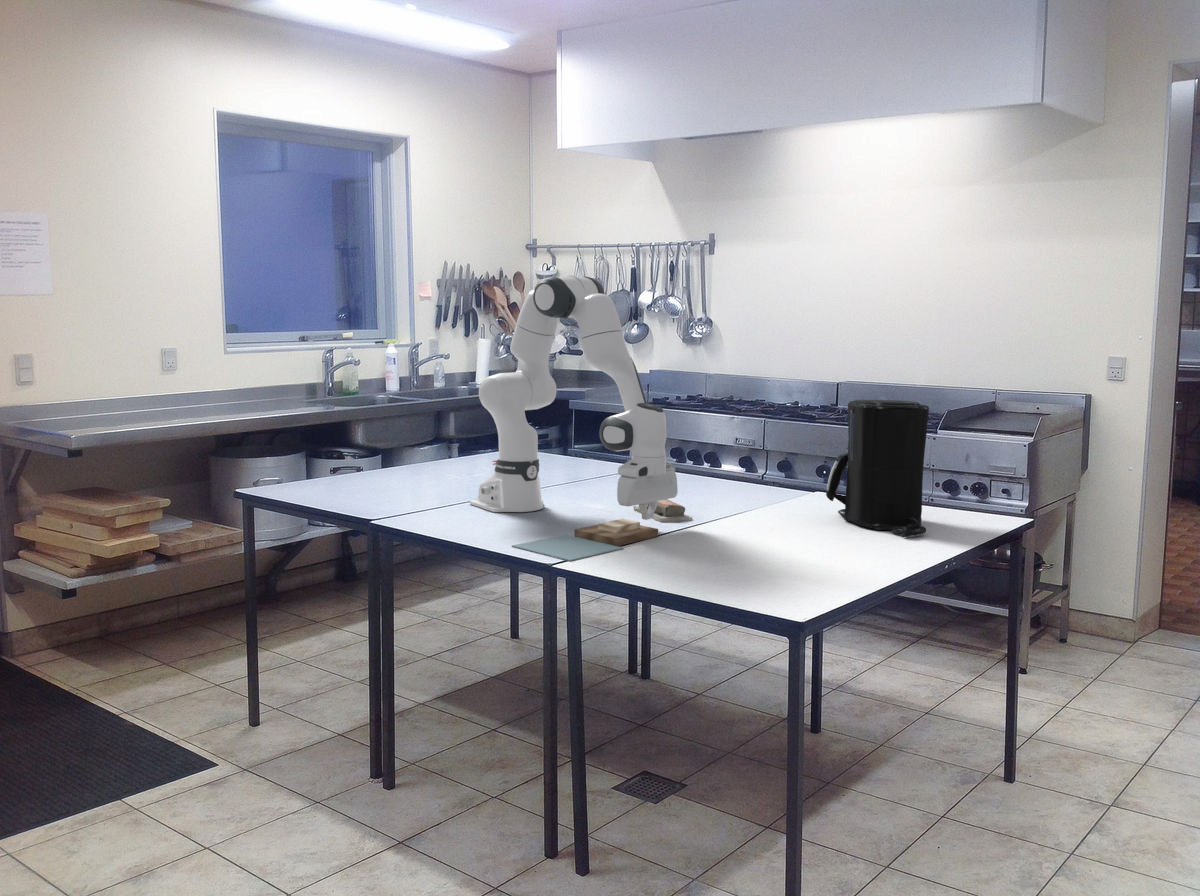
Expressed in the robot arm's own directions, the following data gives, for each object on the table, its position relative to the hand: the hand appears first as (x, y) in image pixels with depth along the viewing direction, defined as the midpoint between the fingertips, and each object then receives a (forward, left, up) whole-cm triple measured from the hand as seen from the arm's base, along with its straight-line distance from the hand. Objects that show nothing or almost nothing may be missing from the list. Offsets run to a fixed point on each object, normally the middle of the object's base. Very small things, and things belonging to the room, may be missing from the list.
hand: (647, 518), depth 271 cm
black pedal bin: (+37, +51, -3) cm, 63 cm away
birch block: (0, -11, -1) cm, 11 cm away
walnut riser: (0, -12, -3) cm, 12 cm away
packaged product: (-11, +18, -4) cm, 21 cm away
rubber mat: (0, -29, -3) cm, 29 cm away
